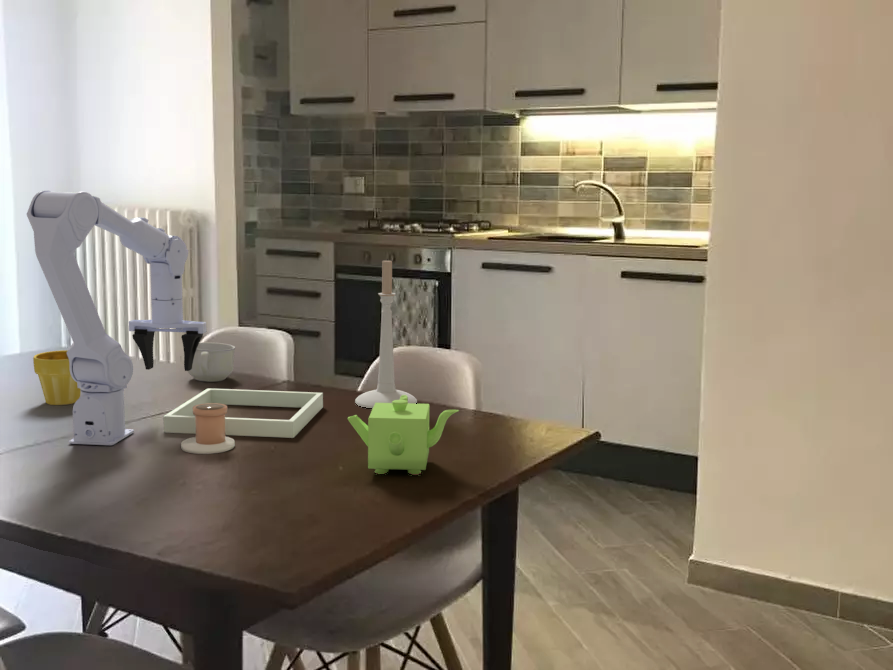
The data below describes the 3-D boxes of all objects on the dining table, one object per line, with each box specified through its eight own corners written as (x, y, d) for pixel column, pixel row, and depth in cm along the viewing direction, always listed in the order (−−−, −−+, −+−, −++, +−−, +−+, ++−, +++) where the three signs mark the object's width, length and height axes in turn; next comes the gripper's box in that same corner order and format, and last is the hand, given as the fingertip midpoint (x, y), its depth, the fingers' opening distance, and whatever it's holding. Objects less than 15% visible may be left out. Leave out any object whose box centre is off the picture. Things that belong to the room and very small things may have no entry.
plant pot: (54, 410, 197) (51, 361, 196) (25, 402, 203) (22, 354, 202) (100, 401, 205) (98, 354, 204) (71, 393, 211) (69, 348, 210)
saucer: (225, 455, 168) (225, 450, 168) (173, 452, 169) (173, 448, 169) (241, 440, 177) (241, 436, 177) (191, 438, 178) (191, 434, 178)
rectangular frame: (293, 437, 180) (293, 421, 179) (163, 432, 182) (163, 416, 181) (322, 407, 203) (322, 392, 203) (207, 402, 205) (207, 388, 205)
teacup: (197, 373, 234) (196, 340, 233) (242, 375, 233) (241, 341, 232) (173, 386, 221) (172, 350, 219) (220, 388, 219) (219, 352, 218)
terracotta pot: (221, 445, 171) (221, 411, 170) (188, 444, 171) (187, 409, 170) (232, 437, 176) (231, 403, 175) (199, 435, 177) (199, 402, 176)
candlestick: (389, 393, 217) (390, 255, 212) (429, 403, 208) (431, 259, 203) (342, 402, 208) (342, 257, 203) (383, 413, 199) (384, 262, 194)
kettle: (403, 450, 173) (404, 386, 171) (463, 468, 163) (464, 401, 161) (335, 467, 162) (335, 399, 160) (394, 487, 152) (395, 416, 151)
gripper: (211, 297, 192) (212, 366, 195) (138, 295, 194) (140, 364, 196) (198, 301, 186) (200, 373, 188) (123, 299, 187) (125, 370, 189)
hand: (168, 369), depth 191 cm, fingers open, 7 cm apart
